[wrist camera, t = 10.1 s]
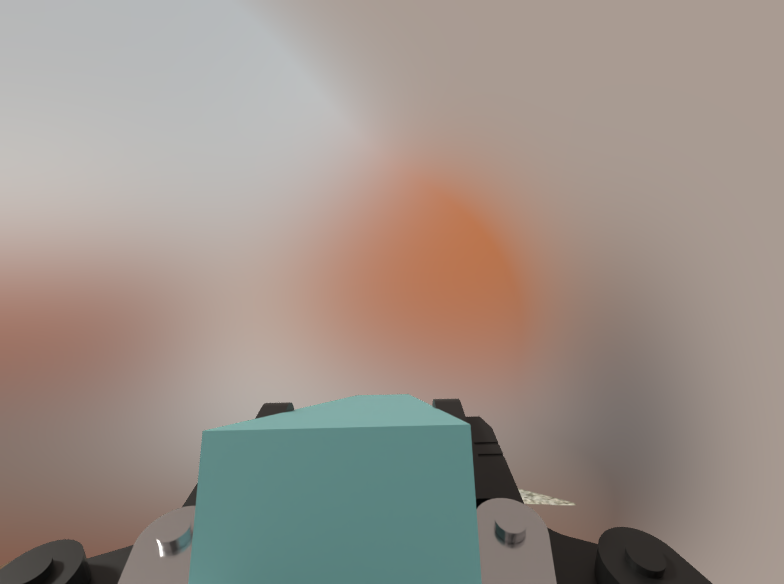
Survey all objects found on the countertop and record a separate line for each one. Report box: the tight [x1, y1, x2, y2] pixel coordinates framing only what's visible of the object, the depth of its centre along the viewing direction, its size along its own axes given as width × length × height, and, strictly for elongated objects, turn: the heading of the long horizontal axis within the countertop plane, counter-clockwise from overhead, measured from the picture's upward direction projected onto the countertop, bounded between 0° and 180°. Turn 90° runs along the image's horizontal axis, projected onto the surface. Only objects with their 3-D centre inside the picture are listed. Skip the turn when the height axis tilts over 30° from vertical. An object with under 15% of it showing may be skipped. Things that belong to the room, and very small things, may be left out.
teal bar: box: [188, 394, 482, 584], centre depth 17 cm, size 4×24×4 cm, turn 0°
